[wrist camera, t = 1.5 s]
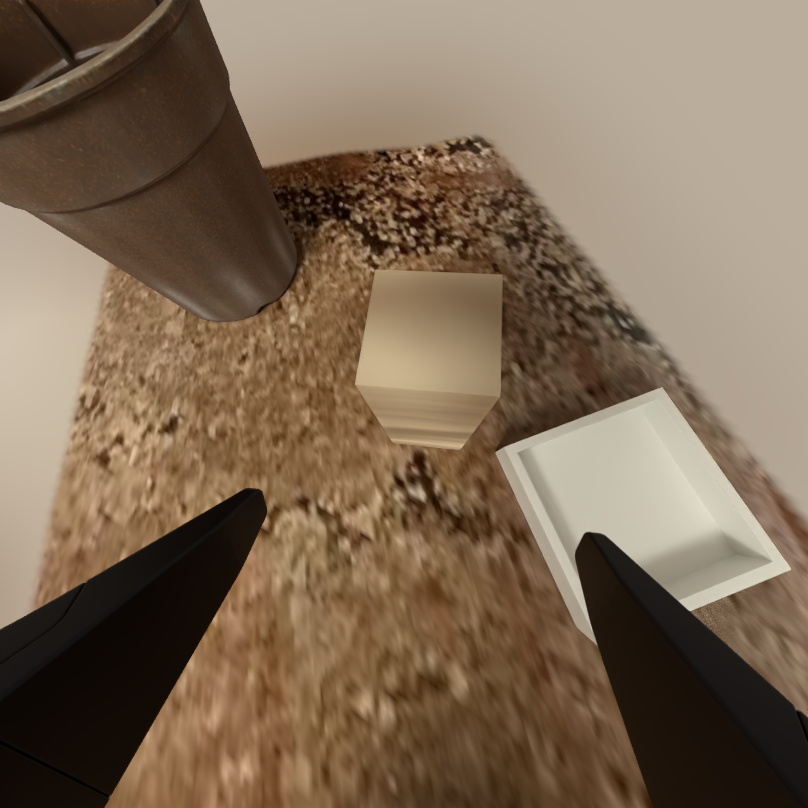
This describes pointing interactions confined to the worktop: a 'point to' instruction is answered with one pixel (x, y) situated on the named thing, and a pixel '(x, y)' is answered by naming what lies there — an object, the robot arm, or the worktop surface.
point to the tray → (638, 503)
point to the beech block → (432, 354)
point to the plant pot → (140, 149)
